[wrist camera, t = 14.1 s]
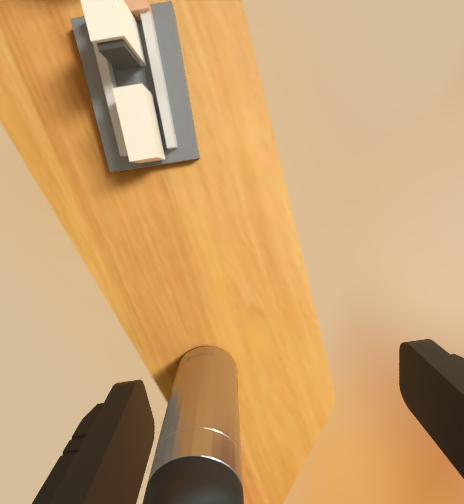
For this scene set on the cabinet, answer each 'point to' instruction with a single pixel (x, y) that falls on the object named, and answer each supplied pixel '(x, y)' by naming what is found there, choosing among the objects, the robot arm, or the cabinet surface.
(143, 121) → the cream block
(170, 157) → the rail mount
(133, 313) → the cabinet surface
